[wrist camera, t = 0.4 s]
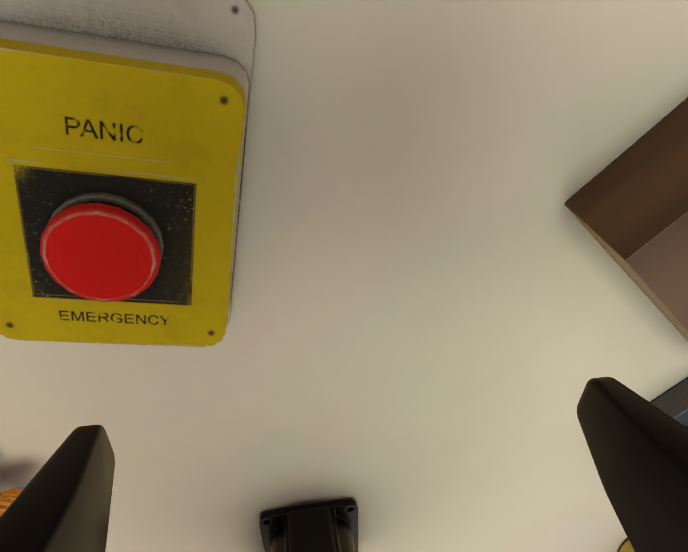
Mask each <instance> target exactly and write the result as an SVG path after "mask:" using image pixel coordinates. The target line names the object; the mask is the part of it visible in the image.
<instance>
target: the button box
mask: <svg viewBox="0 0 688 552" xmlns="http://www.w3.org/2000/svg"><path fill="white" fill-rule="evenodd" d="M651 404H653V405H654V406H656V407H657V408H659V409H660V410H662V411H663V412H665V413H666V414H668V415H669V416H670V417H672V418H673V419H675V420H676V421H678V422H679V423H681V424H682V425H684V426H685V427H687V428H688V378H687V379H686V380H684V381H683V382H681V383H680V384H678V385H677V386H675V387H674V388H672V389H671V390H669V391H668V392H666V393H665V394H663V395H662V396H660V397H659V398H657V399H656V400H654V401H653V402H651Z"/></svg>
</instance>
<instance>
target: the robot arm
mask: <svg viewBox="0 0 688 552" xmlns="http://www.w3.org/2000/svg"><path fill="white" fill-rule="evenodd" d="M577 416H578V419H579V422H580V425H581V428H582V430H583V433H584V436H585V438H586V441H587V444H588V447H589V449H590V452H591V455H592V457H593V460H594V463H595V466H596V468H597V471H598V474H599V476H600V479H601V482H602V484H603V486H604V489H605V491H606V494H607V496H608V498H609V500H610V502H611V504H612V506H613V508H614V510H615V512H616V515H617V517H618V519H619V521H620V523H621V525H622V527H623V529H624V531H625V533H626V535H627V537H628V539H629V541H630V543H631V545H632V547H633V549H634V551H635V552H688V428H687V427H685V426H684V425H682V424H681V423H679V422H678V421H676V420H675V419H673V418H672V417H670V416H669V415H668V414H666V413H665V412H663V411H662V410H660V409H659V408H657V407H656V406H654V405H653V404H651V403H650V402H648V401H647V400H645V399H644V398H642V397H641V396H639V395H638V394H636V393H635V392H633V391H632V390H630V389H629V388H628V387H626V386H625V385H623V384H622V383H620V382H619V381H617V380H615V379H614V378H611V377H601V378H592V379H590V380H589V381H588V382H587V384H586V386H585V389H584V391H583V393H582V396H581V398H580V400H579V403H578V406H577ZM114 467H115V458H114V452H113V450H112V447H111V444H110V442H109V439H108V436H107V434H106V431H105V429H104V427H103V426H101V425H90V426H81V427H78V428H76V429H75V430H74V431H73V432H72V433H71V434H70V435H69V436H68V438H67V439H66V440H65V441H64V442H63V443H62V445H61V446H60V447H59V448H58V449H57V450H56V452H55V453H54V454H53V455H52V456H51V458H50V459H49V460H48V461H47V462H46V463H45V465H44V466H43V467H42V468H41V469H40V471H39V472H38V473H37V474H36V475H35V476H34V478H33V479H32V480H31V481H30V482H29V483H28V485H27V486H26V487H25V488H24V489H23V491H22V492H21V493H20V494H19V495H18V496H17V498H16V499H15V500H14V501H13V502H12V503H11V505H10V506H9V507H8V508H7V509H6V511H5V512H4V513H3V514H2V515H1V516H0V552H105V549H106V541H107V532H108V523H109V514H110V504H111V495H112V486H113V477H114ZM259 523H260V529H261V534H262V539H263V544H264V549H265V552H358V507H357V502H356V501H355V500H352V499H350V500H343V501H336V502H330V503H323V504H316V505H310V506H303V507H296V508H290V509H283V510H277V511H270V512H265V513H262V514H261V515H260V516H259Z"/></svg>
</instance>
